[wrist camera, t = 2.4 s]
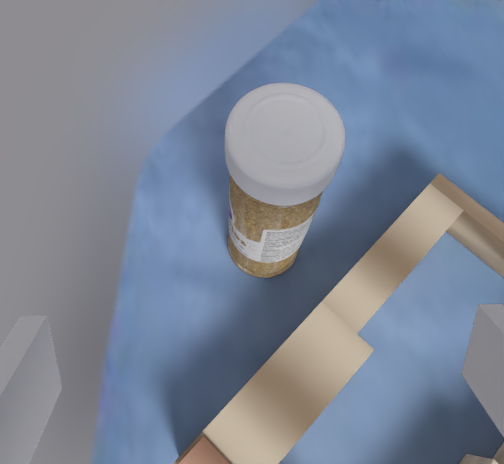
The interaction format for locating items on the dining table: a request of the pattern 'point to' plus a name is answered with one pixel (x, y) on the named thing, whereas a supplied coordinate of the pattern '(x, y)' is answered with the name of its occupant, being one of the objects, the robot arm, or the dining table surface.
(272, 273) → the sprinkles bottle
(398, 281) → the light wood rectangular frame
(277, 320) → the dining table surface
